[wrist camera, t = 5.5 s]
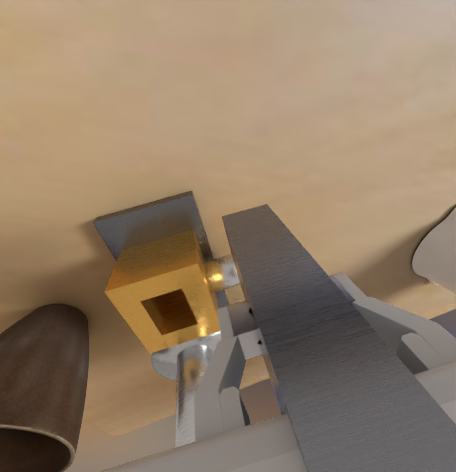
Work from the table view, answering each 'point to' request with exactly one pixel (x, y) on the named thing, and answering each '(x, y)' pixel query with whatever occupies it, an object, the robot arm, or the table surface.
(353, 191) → the table surface
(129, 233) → the gold block fixture
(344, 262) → the table surface
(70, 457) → the plant pot
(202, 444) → the robot arm
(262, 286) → the grey square rod
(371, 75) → the table surface
